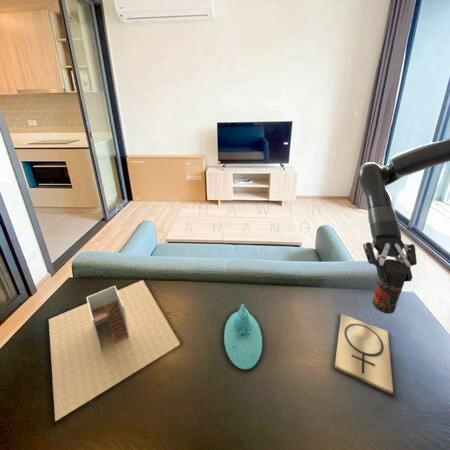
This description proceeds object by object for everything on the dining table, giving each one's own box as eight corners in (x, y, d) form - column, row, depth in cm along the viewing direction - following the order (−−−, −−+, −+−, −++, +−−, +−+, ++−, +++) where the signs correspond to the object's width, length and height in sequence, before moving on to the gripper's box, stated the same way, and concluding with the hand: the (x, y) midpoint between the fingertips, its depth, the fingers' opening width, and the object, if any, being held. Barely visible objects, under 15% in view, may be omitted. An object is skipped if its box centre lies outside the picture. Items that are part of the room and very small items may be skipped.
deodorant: (372, 295, 78) (383, 256, 73) (394, 303, 76) (407, 263, 70) (371, 308, 74) (383, 268, 68) (395, 317, 71) (409, 275, 65)
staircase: (100, 352, 74) (89, 310, 68) (93, 326, 82) (83, 287, 76) (129, 336, 79) (122, 296, 73) (120, 313, 87) (113, 275, 81)
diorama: (223, 369, 69) (223, 348, 66) (224, 311, 88) (224, 292, 85) (266, 369, 69) (268, 348, 66) (258, 311, 88) (259, 292, 85)
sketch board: (387, 333, 80) (388, 330, 80) (392, 394, 64) (393, 392, 63) (340, 316, 86) (341, 313, 86) (334, 367, 70) (335, 365, 69)
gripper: (365, 218, 73) (376, 278, 66) (415, 220, 72) (432, 281, 65) (354, 225, 80) (363, 280, 73) (400, 226, 79) (413, 282, 72)
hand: (395, 280), depth 69 cm, fingers closed on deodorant, 6 cm apart
